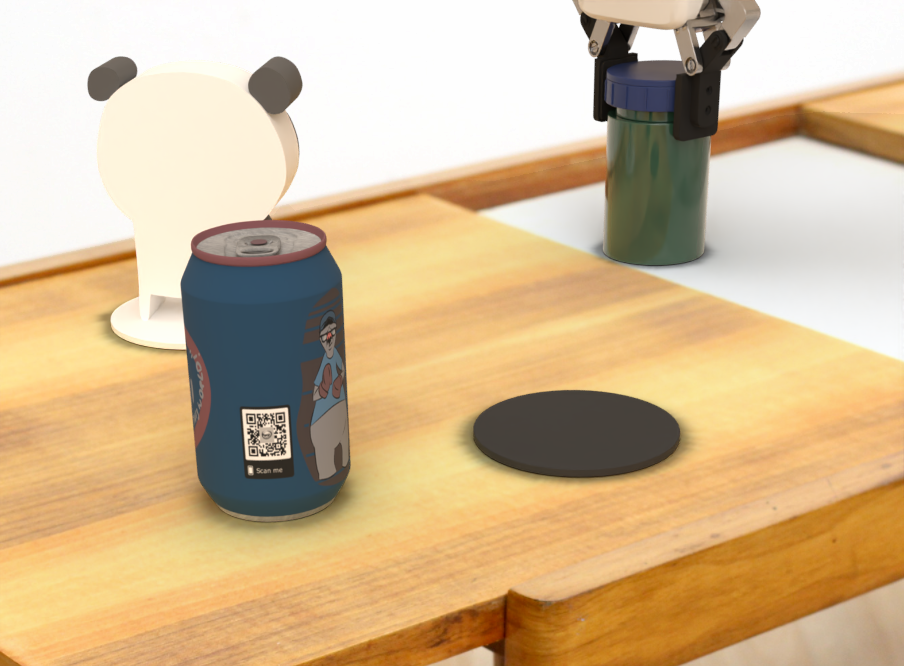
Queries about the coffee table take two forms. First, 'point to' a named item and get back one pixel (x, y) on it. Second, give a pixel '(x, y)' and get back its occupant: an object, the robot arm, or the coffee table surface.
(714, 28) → the robot arm
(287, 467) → the soda can
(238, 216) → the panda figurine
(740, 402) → the coffee table surface
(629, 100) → the jar lid
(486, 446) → the coaster
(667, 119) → the jar
